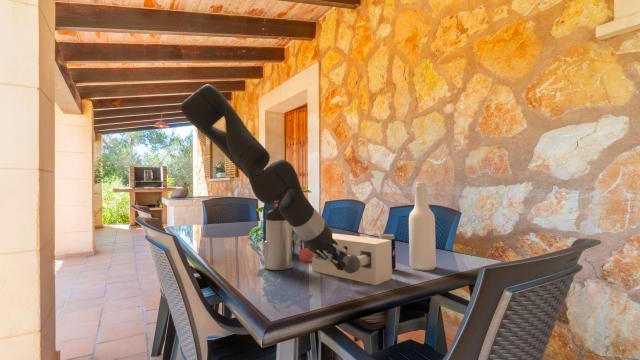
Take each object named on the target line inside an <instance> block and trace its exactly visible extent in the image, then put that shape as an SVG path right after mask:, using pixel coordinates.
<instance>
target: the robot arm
mask: <svg viewBox="0 0 640 360" xmlns="http://www.w3.org/2000/svg"><path fill="white" fill-rule="evenodd" d="M180 110H181V113H182V114H183V116H184V117H185V118H186V119H187V120H188V121H189V122H190V124H192V125H193V126H194V127H195V128H196V129H198V131H200V132H201V133H202V134H203V135H204V136H205V137H206V138H208V140H210V141H211V143H213V144H214V145H215V146H216V147H217V148H219V149H220V151H221V152H222V153H223V154H224V155H225V156H226V157H227V158H228V160H230V161H231V163H232V164H233V165H234V166H235V167H236V168H237V169H238V170H239V171H241V173H243V175H244V176H246V177H247V179H248V181H249V184H250V187H251V190H252V191H253V195H255V198H256V199H257V200H259V202H261V203H263V204H264V203H266V204H271V203H273V202H275V201H276V200H278V205H277V207H276V208H274V209H273V210H270V211H268V212H267V213H266V241H265V242H264V250H263V255H264V256H263V257H264V258H263V261H264V262H263V263H264V264H263V265H264V266H263V267H264V269H267V270H270V271H284V270H289V269H291V268H293V254H292V228H293V230H294V234H296V236H297V237H298V238H299V240H300V239H301V240H302V241H303V242H304V244H305V245H306V246H307V247H308V249H309V250H310V251H312V252H313V253H315V254H316V255H318V256H319V257H321V258H322V259H324V260H328V261H329V262H331V263H333V264H334V266H335V267H336V268H337V269H338V270H341V271H343V269H344V267H345V265H346V264H345V263H344V261H343V259H344V257H345V255H346V252H347V249H348V247H346V246H343V247H340V246H338V243H337V242H336V241H335V240H334V239H333V238H332V233H333V231H332V229H331V228H330V226H329V225H328V223H327V222H326V221H325V219H324V218H323V217H322V215H321V214H320V213H319V212H318V211H317V210H316V209H315V208H314V207H313V205H312V204H311V203H310V201H309V200H308V199H307V197H306V196H305V193H304V191H303V189H302V186H301V183H300V180H299V177H298V174H297V172H296V169H295V167H294V166H293V165H292V163H290V162H289V161H288V160H286V159H282V158H281V159H276V160H275V161H273V162H272V163H270V160H271V156H270V153H269V151H268V150H267V149H266V148H265V146H263V144H262V143H261V142H259V141H258V139H257V138H256V137H255V136H254V135H253V133H252V132H251V131H250V130H249V129H248V128H247V126H246V125H245V123H244V121H243V120H242V119H241V117H240V116H239V114H238V113H237V111H236V110H235V109H234V107H232V105H231V104H230V102H229V101H228V100H227V99H226V97H225V96H224V95H223V93H222V92H221V91H220V90H219V89H217V87H215V86H214V85H212V84H210V83H206V84H204V85H202V86H201V87H200V88H199V89H196V91H194V92H193V93H192V94H191V95H190V96H189V97H187V98H186V99H185V100H184V101H183V102H182V103H181V104H180ZM223 117H224V120H225V122H224V123H225V131H224V130H222V129H219V128H217V127H215V126H214V125H215V124H216V123H217V122H218V121H220V120H221V119H222V118H223ZM269 163H270V164H269ZM268 164H269V165H268Z"/></svg>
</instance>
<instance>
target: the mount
mask: <svg viewBox="0 0 640 360" xmlns="http://www.w3.org/2000/svg"><path fill="white" fill-rule="evenodd" d="M332 238H333V239H334V240H335V241H336V242H337V243H338V246H340V247H343V246H346V247H348V249H347V252H346V254H347V256H348V255H355V256H357V257H358V256H361V255H365V254H368V255H370V257H371V263H370V264H367V265H364V266H361V267H360V268H359V270H358V271H357V272H354V273H351V274H349V273H347V272H345V270H344V269H343V271H341V270H338V269H337V268H336V267H335V266H334V264H333V263H331V262H329V261H328V260H324V259H322V258H321V257H319V256H315V257H312V261H311V270H312V271H313V272H315V273H316V272H317V273H321V274H324V275H329V276H333V275H334V276H333V277H338V278H343V279H347V280H351V281H356V282H359V283H360V282H361V283H364V284H369V285H374V286H378V285H380V284H383V283H385V282H387V281H390V280H392V279H393V271H392V248H391V240H386V239H378V238H377V237H376V238H375V237H367V236H359V235H349V234H342V233H341V234H340V233H333V232H332Z"/></svg>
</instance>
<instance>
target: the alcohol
mask: <svg viewBox="0 0 640 360" xmlns="http://www.w3.org/2000/svg"><path fill="white" fill-rule="evenodd" d="M414 184H415V192H414V193H415V194H414V207H413V209H412V210H411V211H410V212H409V215H408V216H409V217H408V244H409V245H408V247H409V248H408V250H409V256H408V258H409V259H408V260H409V266H410V267H411V269H412V270H416V271H422V272H424V271H432V270H434V269H435V268H436V266H437V265H436V264H437V262H436V261H437V259H436V255H437V254H436V217H435V214H434V212H433V211H432V210H431V209H430V205H429V199H428V185H427V184H428V182H425V181H423V182H422V181H416V182H415V183H414Z"/></svg>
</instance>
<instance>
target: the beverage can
mask: <svg viewBox="0 0 640 360" xmlns="http://www.w3.org/2000/svg"><path fill="white" fill-rule="evenodd" d="M377 239H386V240H391V248H392V272H393V271H394V270H395V269H396V265H397V264H396V238H395V234H392V233H382V234H381V233H380V234H379V236H378V238H377Z"/></svg>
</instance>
